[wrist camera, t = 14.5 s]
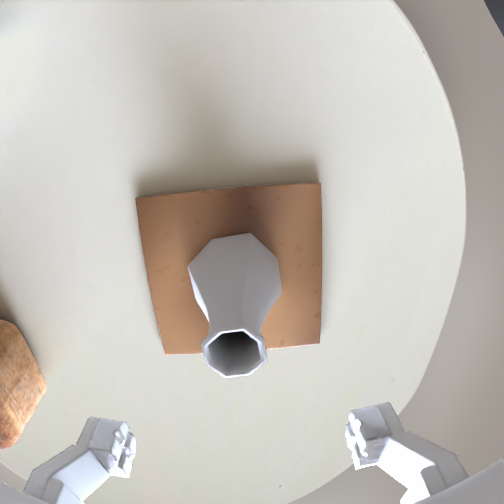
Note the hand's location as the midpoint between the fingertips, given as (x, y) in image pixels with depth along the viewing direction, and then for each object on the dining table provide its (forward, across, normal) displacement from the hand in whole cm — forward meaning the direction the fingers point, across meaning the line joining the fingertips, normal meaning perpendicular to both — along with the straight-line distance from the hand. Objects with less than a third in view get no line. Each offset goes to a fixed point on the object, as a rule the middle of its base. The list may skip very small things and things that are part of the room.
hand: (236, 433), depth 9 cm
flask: (+15, 0, 0) cm, 15 cm away
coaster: (+16, 0, 0) cm, 16 cm away
